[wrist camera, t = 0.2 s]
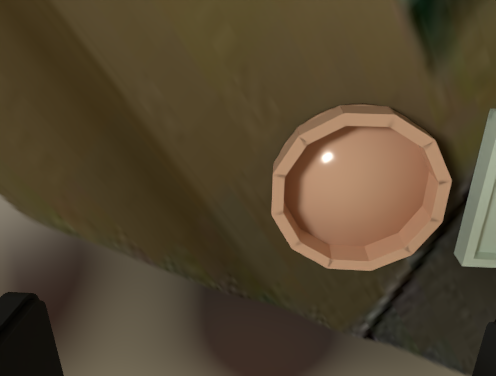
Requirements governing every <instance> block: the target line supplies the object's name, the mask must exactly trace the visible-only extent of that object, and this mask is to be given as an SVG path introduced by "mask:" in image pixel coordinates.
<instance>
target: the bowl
mask: <svg viewBox="0 0 496 376" xmlns="http://www.w3.org/2000/svg"><path fill="white" fill-rule="evenodd" d="M451 183H452V179H451V177H450V174H449V172H448V170H447V167H446V165H445V162H444V160H443V157H442V155H441V153H440V150H439V148H438V145H437V143H436V140H435V139H434V138H433V137H432V136H431V135H430V134H429V133H428V132H427V131H426V130H424V129H422V128H421V127H419V126H418V125H416V124H415V123H413V122H412V121H411V120H409V119H408V118H407V117H405V116H404V115H402V114H400V113H398V112H396V111H394V110H393V109H391V108H390V107H388V106H378V105H374V104H363V103H361V104H347V105H340V106H337V107H334V108H330V109H327V110H325V111H323V112H320V113H318V114H316V115H315V116H313V117H311V118H310V119H308V120H307V121H305V122H304V123H303V124H302V125H300V126H298V127H297V129H296V130H295V131H294V132H293V133H292V134H291V136H290V137H289V138H288V139H287V141H286V142H285V144H284V145H283V147H282V149H281V151H280V153H279V155H278V157H277V159H276V160H275V162H274V165H273V185H272V214H271V215H272V217H273V218H274V220H275V222H276V223H277V225H278V227H279V228H280V230H281V232H282V233H283V235H284V237H285V238H286V240H287V241H288V243H289V245H290V246H291V248H292V249H293V250H295V251H297V252H299V253H301V254H302V255H304V256H306V257H308V258H310V259H311V260H313V261H315V262H317V263H319V264H320V265H322V266H324V267H326V268H328V269H347V270H366V271H371V270H374V269H377V268H379V267H382V266H384V265H387V264H389V263H392V262H395V261H397V260H400V259H402V258H405V257H407V256H410V255H412V254H413V253H414V252H415V251H416V250H417V249H418V248H419V247H420V246H421V245H422V244H423V243H424V242H425V241H426V239H427V238H428V237H429V236H430V235H431V234H432V233H433V232H434V231H435V230H436V229H437V228H438V227H439V226H440V224H441V223H442V222H443V218H444V213H445V209H446V205H447V200H448V196H449V192H450V187H451Z"/></svg>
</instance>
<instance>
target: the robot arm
mask: <svg viewBox="0 0 496 376" xmlns="http://www.w3.org/2000/svg"><path fill="white" fill-rule="evenodd" d="M0 376H64V375H63V371H62V367H61V363H60V359H59V356H58V351H57V348H56V344H55V340H54V336H53V332H52V328H51V324H50V320H49V316H48V313H47V308H46V305H45V303H44V302H43V301H40V300H39V298H38V296H37V295H36V294H33V293H17V292H8V293H5V294H4V295H2V296H1V297H0ZM472 376H496V320H495V322H489V323H488V324H487V327H486V330H485V333H484V337H483V340H482V343H481V347H480V350H479V354H478V357H477V361H476V364H475V368H474V371H473V374H472Z"/></svg>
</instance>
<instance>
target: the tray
mask: <svg viewBox="0 0 496 376" xmlns="http://www.w3.org/2000/svg"><path fill="white" fill-rule="evenodd" d="M454 254H455V256H456V257H457V259H458V261H459V262H460V264H461V265H462V266H471V267H490V268H496V109H490V112H489V116H488V120H487V124H486V128H485V132H484V136H483V140H482V144H481V147H480V151H479V155H478V159H477V163H476V167H475V171H474V175H473V179H472V183H471V187H470V191H469V195H468V199H467V203H466V207H465V211H464V215H463V219H462V223H461V227H460V231H459V235H458V239H457V243H456V247H455V251H454Z"/></svg>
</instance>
